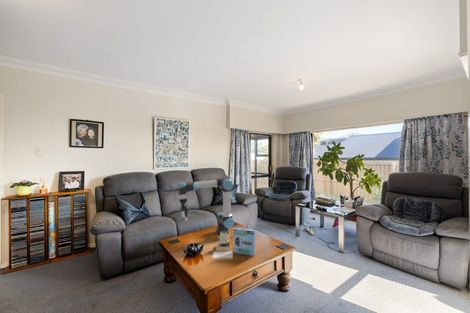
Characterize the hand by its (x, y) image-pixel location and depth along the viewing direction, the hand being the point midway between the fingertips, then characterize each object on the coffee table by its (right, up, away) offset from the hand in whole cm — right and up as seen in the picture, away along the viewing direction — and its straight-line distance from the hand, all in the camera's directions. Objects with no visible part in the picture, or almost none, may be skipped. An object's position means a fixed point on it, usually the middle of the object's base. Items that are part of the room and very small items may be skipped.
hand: (185, 218), depth 211 cm
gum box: (+60, -27, -19) cm, 68 cm away
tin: (+40, -26, -10) cm, 48 cm away
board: (+40, -27, -23) cm, 53 cm away
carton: (+40, -27, -10) cm, 49 cm away
